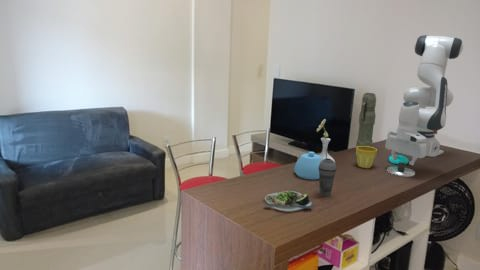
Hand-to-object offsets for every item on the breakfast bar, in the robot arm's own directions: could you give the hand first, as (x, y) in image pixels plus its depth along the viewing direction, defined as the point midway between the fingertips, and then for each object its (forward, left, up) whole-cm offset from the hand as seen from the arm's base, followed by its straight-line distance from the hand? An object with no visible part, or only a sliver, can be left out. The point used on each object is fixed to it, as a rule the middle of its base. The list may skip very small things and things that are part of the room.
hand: (402, 162), depth 181 cm
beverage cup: (+54, +2, -6) cm, 54 cm away
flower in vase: (+27, -28, -6) cm, 39 cm away
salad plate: (+73, +2, -6) cm, 73 cm away
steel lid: (0, -1, -6) cm, 6 cm away
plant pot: (+9, -16, -6) cm, 19 cm away
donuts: (-13, -12, -6) cm, 18 cm away
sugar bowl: (+44, -19, -6) cm, 48 cm away
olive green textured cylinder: (-12, -34, -6) cm, 37 cm away
